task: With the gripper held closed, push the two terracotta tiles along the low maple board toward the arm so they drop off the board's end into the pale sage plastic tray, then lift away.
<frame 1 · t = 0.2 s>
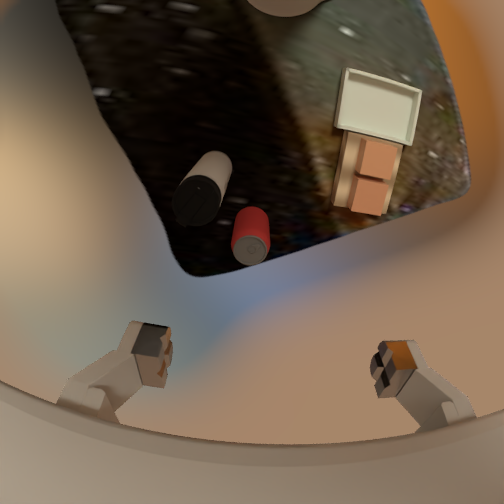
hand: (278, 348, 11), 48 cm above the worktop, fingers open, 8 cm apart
tile 1: (365, 192, 53), point 3 cm above the worktop, touching bench
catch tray: (376, 106, 48), on the worktop
bench: (364, 170, 54), on the worktop
tile 2: (373, 156, 50), point 3 cm above the worktop, touching bench
beer can: (251, 220, 60), on the worktop
travel mug: (215, 167, 55), on the worktop
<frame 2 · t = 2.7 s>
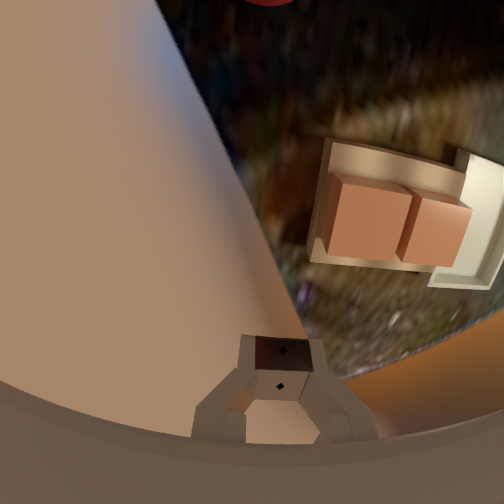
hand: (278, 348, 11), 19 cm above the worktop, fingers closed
tile 1: (359, 210, 25), point 3 cm above the worktop, touching bench
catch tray: (473, 222, 28), on the worktop
bench: (382, 204, 28), on the worktop
tile 2: (424, 221, 25), point 3 cm above the worktop, touching bench
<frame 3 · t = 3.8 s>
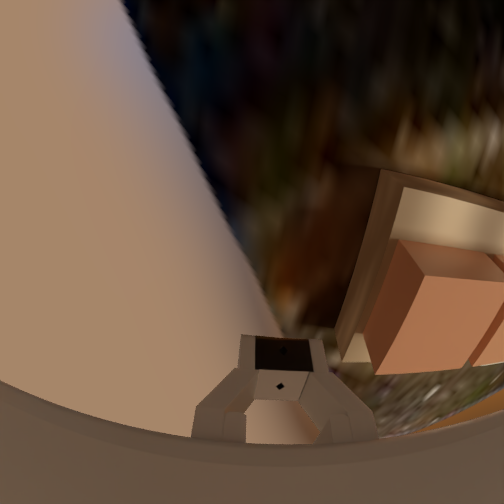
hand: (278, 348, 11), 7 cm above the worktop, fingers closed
tile 1: (426, 294, 15), point 3 cm above the worktop, touching bench
bench: (448, 269, 17), on the worktop
tile 2: (502, 297, 15), point 3 cm above the worktop, touching bench
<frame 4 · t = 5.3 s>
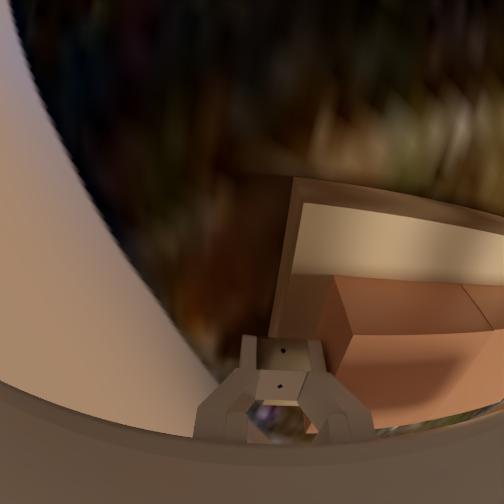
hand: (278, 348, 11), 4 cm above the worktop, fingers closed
tile 1: (380, 337, 12), point 3 cm above the worktop, touching bench, gripper, tile 2
bench: (404, 297, 15), on the worktop
tile 2: (474, 333, 12), point 3 cm above the worktop, touching bench, tile 1
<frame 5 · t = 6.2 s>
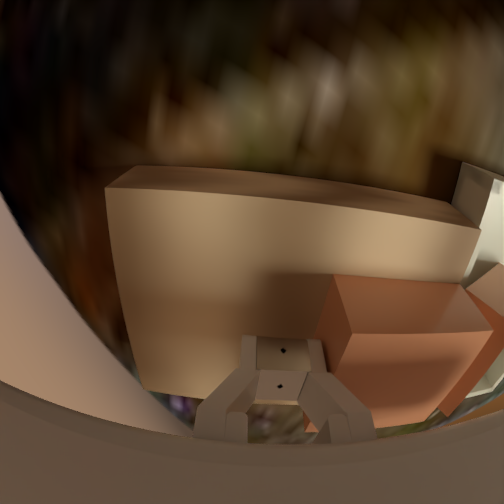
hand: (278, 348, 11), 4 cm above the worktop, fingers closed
tile 1: (379, 336, 12), point 3 cm above the worktop, touching gripper
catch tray: (482, 298, 15), on the worktop
bench: (287, 289, 15), on the worktop
tile 2: (461, 320, 13), point 2 cm above the worktop, tilted 30°
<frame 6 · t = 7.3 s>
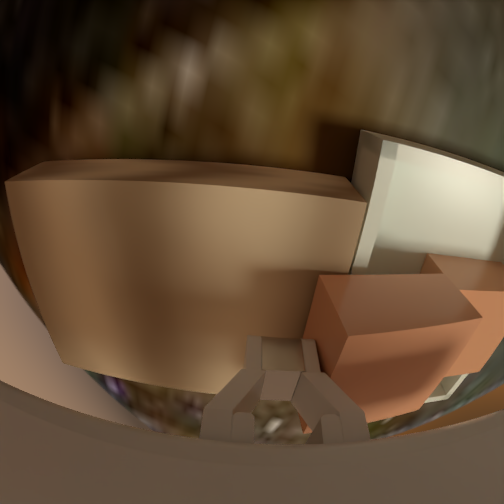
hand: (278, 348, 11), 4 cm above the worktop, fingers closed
tile 1: (367, 331, 12), point 3 cm above the worktop, tilted 8°, touching gripper, tile 2
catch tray: (420, 292, 15), on the worktop
bench: (177, 272, 15), on the worktop
tile 2: (448, 303, 15), point 1 cm above the worktop, touching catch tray, tile 1
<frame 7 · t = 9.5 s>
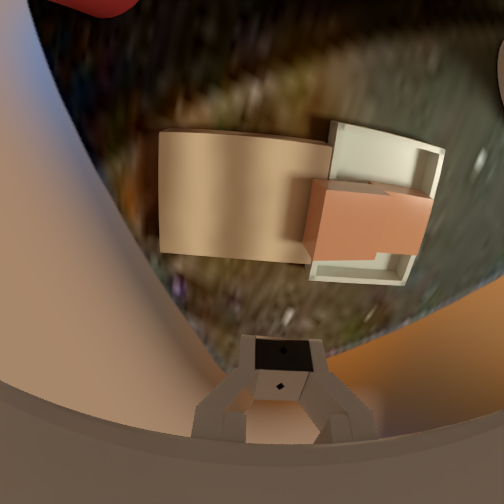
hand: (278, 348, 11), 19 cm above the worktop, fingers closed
tile 1: (338, 213, 26), point 3 cm above the worktop, tilted 9°, touching bench, tile 2
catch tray: (370, 205, 29), on the worktop
bench: (240, 190, 28), on the worktop
tile 2: (388, 213, 29), resting on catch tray, touching tile 1
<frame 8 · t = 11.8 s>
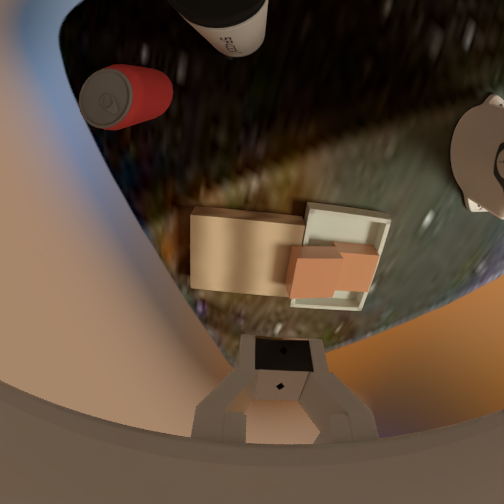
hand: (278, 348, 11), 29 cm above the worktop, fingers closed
tile 1: (309, 266, 40), point 3 cm above the worktop, tilted 9°, touching bench, tile 2
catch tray: (335, 256, 43), on the worktop
bench: (244, 247, 42), on the worktop
tile 2: (348, 261, 42), resting on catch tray, touching tile 1
beer can: (149, 94, 32), on the worktop
travel mug: (236, 33, 28), on the worktop
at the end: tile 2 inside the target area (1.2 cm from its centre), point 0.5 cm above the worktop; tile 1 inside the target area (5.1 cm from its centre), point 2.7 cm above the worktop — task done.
